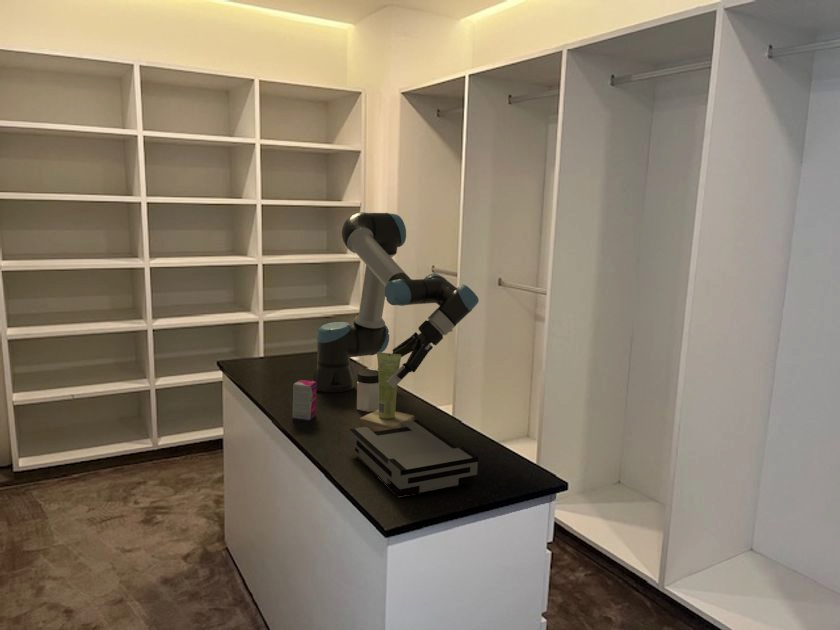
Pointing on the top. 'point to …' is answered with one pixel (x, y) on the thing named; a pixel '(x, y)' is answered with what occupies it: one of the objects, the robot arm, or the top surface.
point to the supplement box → (304, 400)
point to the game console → (413, 458)
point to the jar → (368, 390)
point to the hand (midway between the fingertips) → (384, 378)
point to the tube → (386, 393)
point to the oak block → (383, 421)
